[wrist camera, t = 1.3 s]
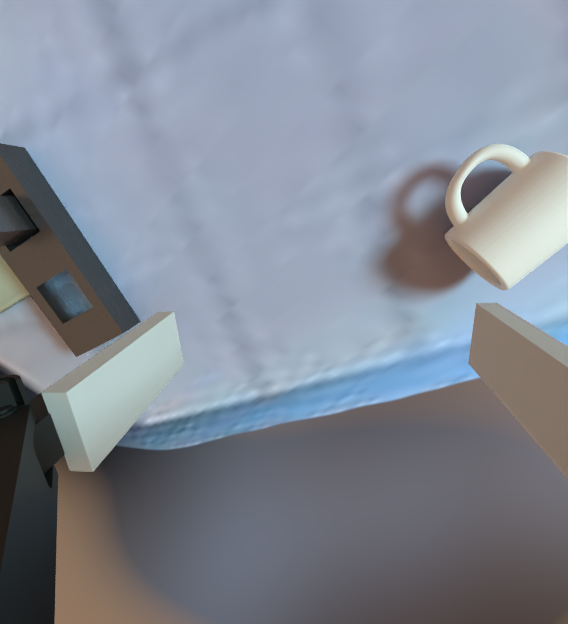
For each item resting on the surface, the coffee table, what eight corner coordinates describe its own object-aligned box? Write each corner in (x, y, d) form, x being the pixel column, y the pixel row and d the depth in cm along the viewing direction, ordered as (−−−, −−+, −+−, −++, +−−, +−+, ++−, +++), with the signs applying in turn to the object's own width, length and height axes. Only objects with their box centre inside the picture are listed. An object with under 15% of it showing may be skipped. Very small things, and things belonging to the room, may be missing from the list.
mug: (564, 212, 33) (634, 215, 26) (481, 280, 36) (521, 301, 29) (489, 126, 32) (539, 103, 24) (408, 205, 35) (431, 206, 27)
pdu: (-20, 182, 40) (-156, 174, 28) (24, 147, 38) (-104, 125, 26) (96, 344, 45) (21, 391, 34) (140, 321, 43) (75, 364, 32)
